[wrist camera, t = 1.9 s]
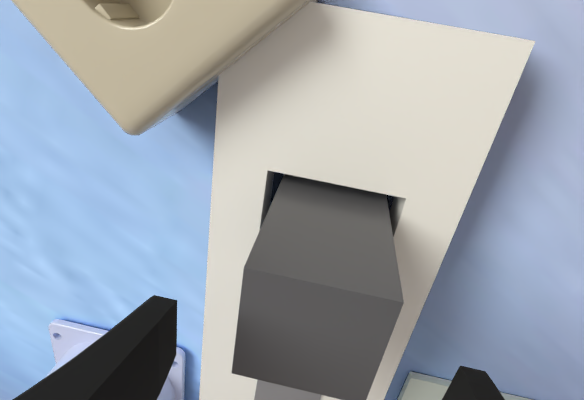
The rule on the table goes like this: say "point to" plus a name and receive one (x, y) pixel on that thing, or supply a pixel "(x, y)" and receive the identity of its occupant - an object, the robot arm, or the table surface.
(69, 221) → the table surface
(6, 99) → the table surface
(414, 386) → the mat
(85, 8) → the electrical outlet
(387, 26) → the power strip
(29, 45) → the table surface
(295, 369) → the charger
